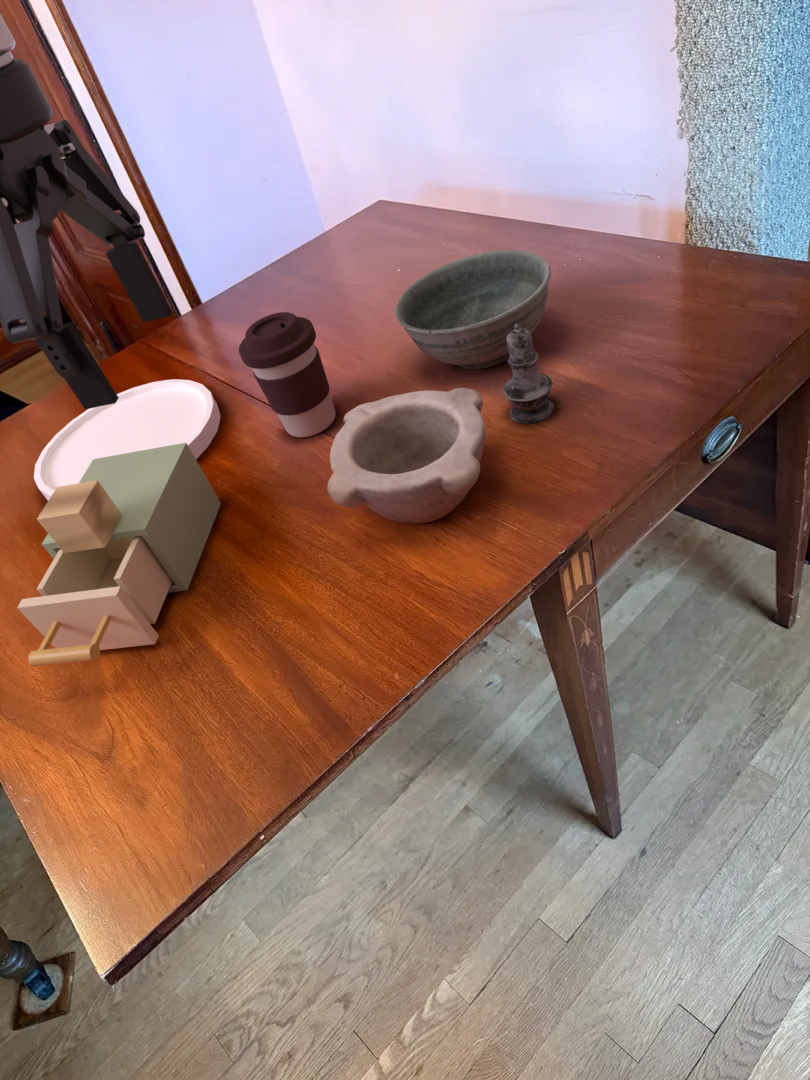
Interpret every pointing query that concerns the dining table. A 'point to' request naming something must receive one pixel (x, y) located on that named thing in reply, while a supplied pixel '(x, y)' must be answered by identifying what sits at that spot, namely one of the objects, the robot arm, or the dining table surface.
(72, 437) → the plate
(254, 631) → the dining table surface
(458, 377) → the dining table surface
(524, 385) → the grey stone chess piece
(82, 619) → the drawer
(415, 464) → the mortar
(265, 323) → the coffee cup
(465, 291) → the bowl
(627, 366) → the dining table surface
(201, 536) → the cabinet
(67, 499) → the block
